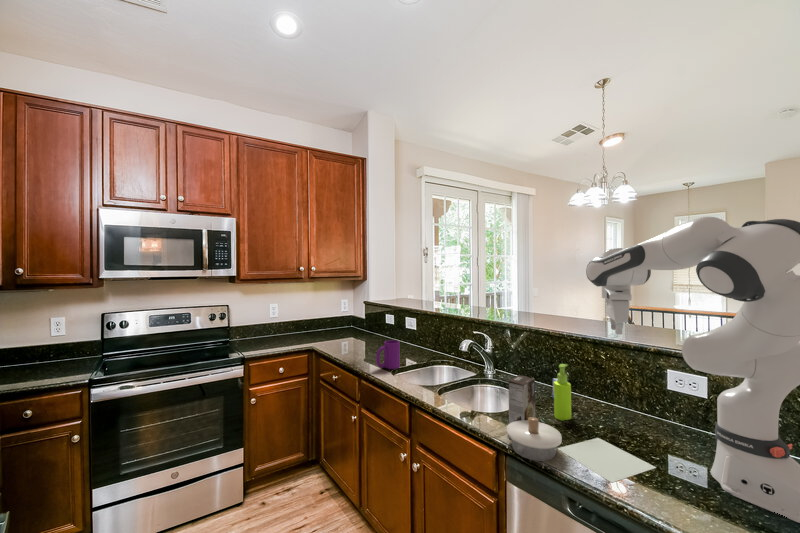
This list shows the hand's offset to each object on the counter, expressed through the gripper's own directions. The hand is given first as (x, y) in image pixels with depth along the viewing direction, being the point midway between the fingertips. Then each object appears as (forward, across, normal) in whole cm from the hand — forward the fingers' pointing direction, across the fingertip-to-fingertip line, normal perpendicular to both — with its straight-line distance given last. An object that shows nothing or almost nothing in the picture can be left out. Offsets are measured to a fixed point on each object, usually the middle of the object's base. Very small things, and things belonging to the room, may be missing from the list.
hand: (616, 331), depth 120 cm
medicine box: (+34, -18, -18) cm, 42 cm away
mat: (+34, +26, -8) cm, 44 cm away
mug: (+34, -32, -108) cm, 118 cm away
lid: (+29, +29, -27) cm, 49 cm away
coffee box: (+34, +11, -32) cm, 48 cm away
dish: (+34, +29, -27) cm, 53 cm away
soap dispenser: (+34, -1, -18) cm, 39 cm away
